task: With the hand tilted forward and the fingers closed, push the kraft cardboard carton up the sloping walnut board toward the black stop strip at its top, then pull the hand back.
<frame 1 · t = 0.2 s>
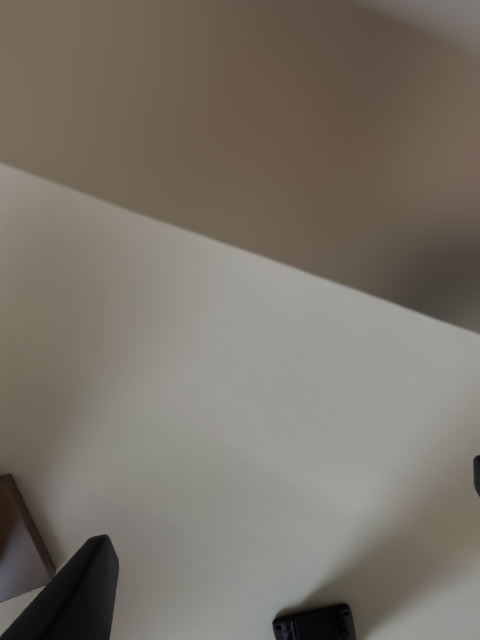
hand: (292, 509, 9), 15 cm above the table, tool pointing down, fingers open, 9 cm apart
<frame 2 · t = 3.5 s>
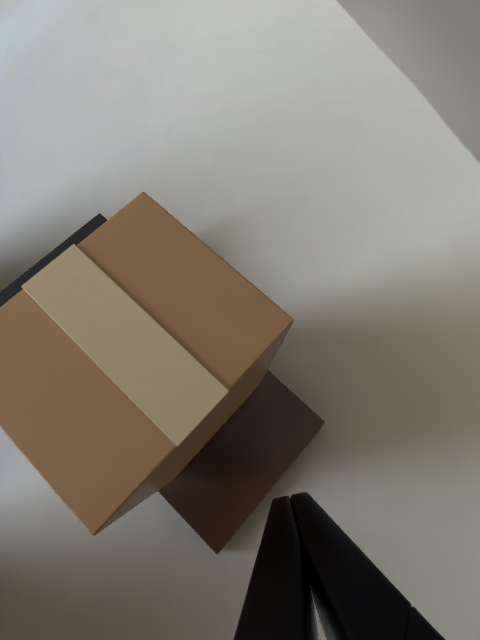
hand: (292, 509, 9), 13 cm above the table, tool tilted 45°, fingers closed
carton: (163, 374, 15), point 9 cm above the table, slide at 0.0 cm
ramp: (166, 378, 24), on the table
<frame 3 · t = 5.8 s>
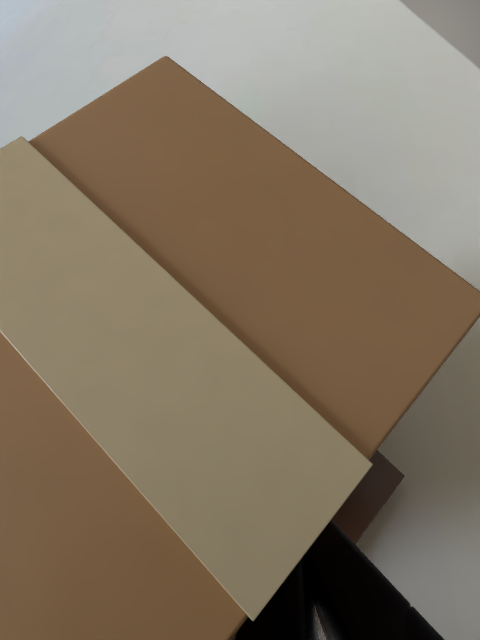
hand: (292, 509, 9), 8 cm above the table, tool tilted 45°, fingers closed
carton: (179, 397, 10), point 9 cm above the table, slide at 0.8 cm, touching gripper
ramp: (184, 407, 19), on the table
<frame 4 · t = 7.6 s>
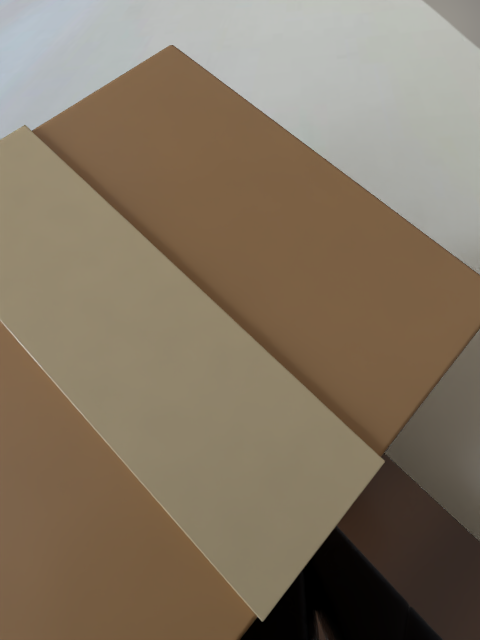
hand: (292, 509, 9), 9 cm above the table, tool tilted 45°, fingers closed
carton: (182, 394, 10), point 10 cm above the table, slide at 6.7 cm, touching gripper
ramp: (269, 491, 17), on the table
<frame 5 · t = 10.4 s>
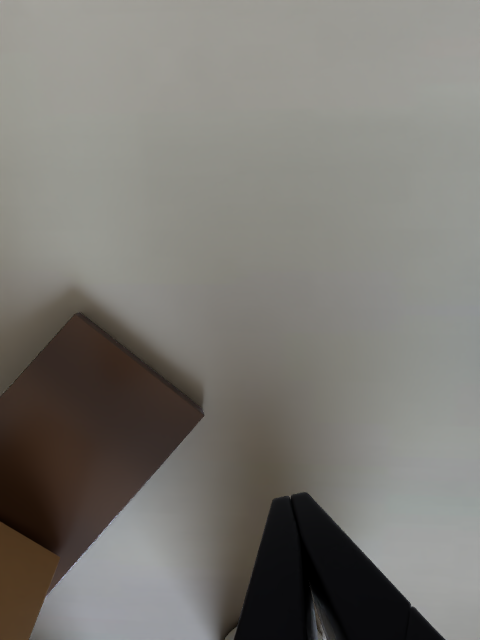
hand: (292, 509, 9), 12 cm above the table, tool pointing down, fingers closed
ramp: (47, 467, 22), on the table
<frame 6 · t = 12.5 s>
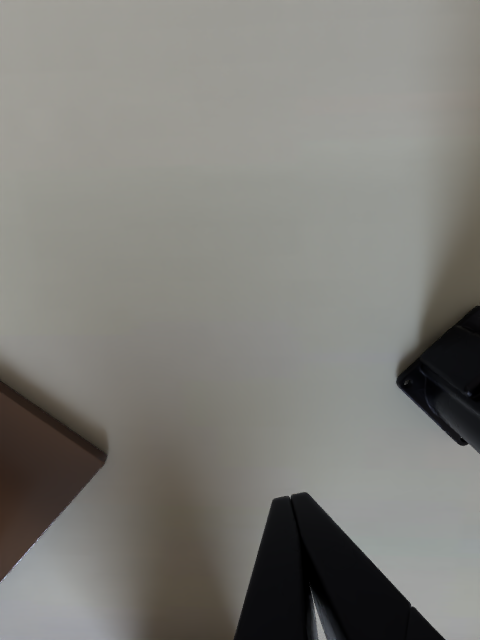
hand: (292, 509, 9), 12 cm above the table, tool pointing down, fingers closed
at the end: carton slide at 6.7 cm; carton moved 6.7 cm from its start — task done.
